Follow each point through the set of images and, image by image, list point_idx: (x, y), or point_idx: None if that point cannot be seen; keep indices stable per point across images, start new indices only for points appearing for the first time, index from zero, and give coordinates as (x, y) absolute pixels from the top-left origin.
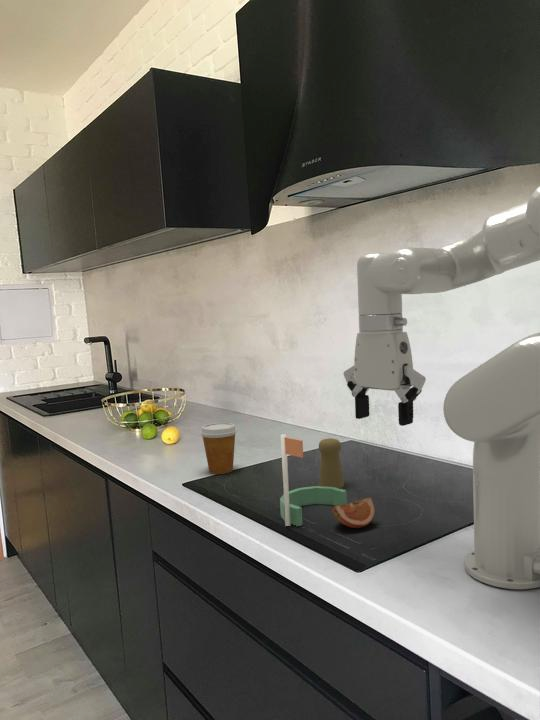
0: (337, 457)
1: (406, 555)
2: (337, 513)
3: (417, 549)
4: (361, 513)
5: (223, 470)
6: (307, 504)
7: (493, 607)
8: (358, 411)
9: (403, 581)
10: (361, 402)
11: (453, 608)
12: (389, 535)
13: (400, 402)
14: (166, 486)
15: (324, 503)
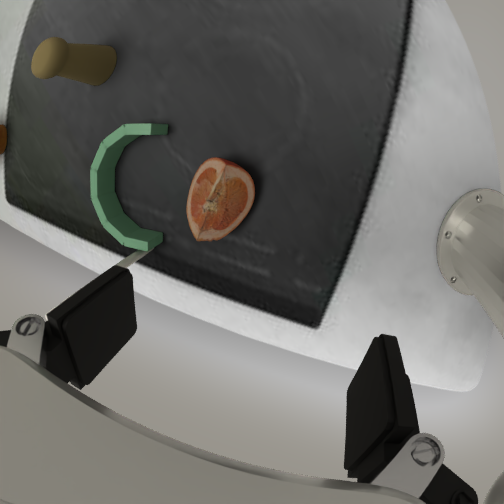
0: (74, 54)
1: (356, 258)
2: (209, 240)
3: (363, 230)
4: (235, 201)
5: (3, 145)
6: (118, 159)
7: (466, 327)
8: (119, 347)
9: (375, 325)
10: (95, 357)
11: (433, 346)
12: (299, 199)
13: (355, 473)
14: (5, 215)
15: (134, 139)
